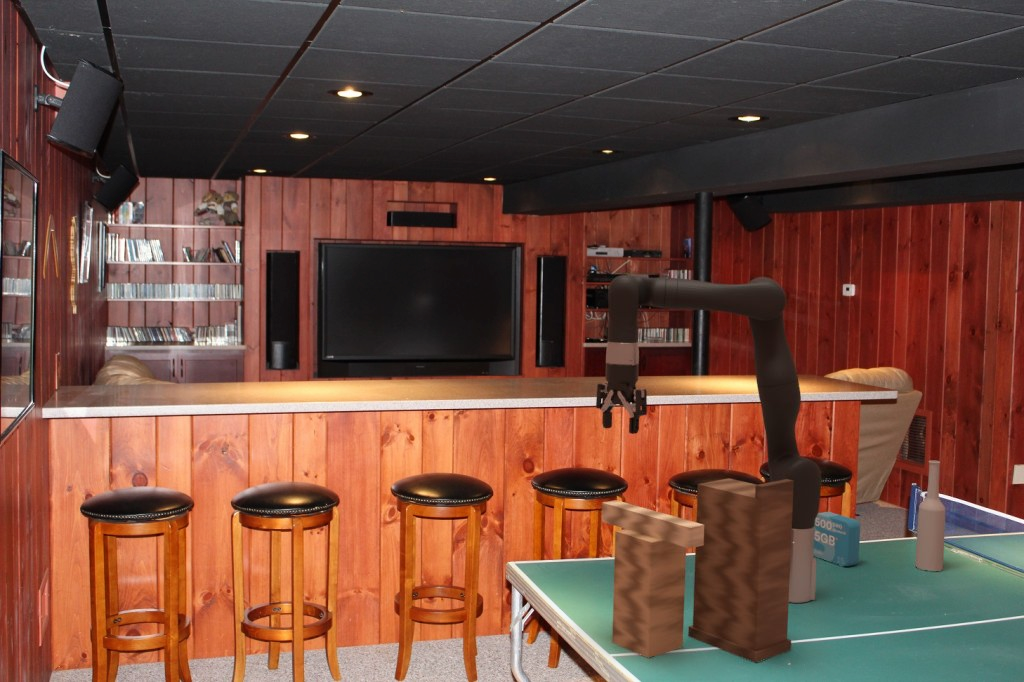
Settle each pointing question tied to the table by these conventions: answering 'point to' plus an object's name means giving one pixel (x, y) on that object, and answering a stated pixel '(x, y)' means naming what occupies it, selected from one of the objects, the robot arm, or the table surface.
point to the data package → (836, 538)
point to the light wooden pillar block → (648, 593)
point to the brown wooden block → (653, 524)
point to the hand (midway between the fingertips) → (620, 430)
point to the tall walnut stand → (743, 567)
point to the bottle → (931, 525)
